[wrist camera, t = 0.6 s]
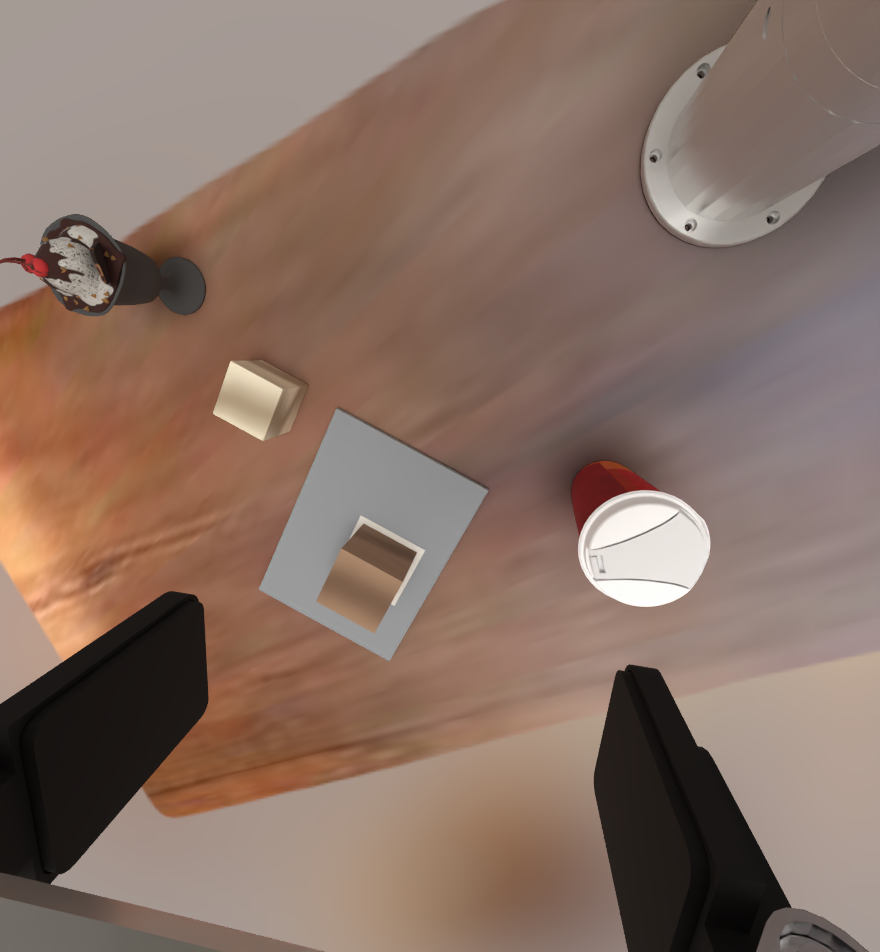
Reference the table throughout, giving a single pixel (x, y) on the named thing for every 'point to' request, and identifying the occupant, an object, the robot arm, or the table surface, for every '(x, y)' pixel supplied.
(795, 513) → the table surface
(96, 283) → the sundae
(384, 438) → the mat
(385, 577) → the walnut block
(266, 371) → the birch block
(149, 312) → the table surface
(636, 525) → the paper cup
